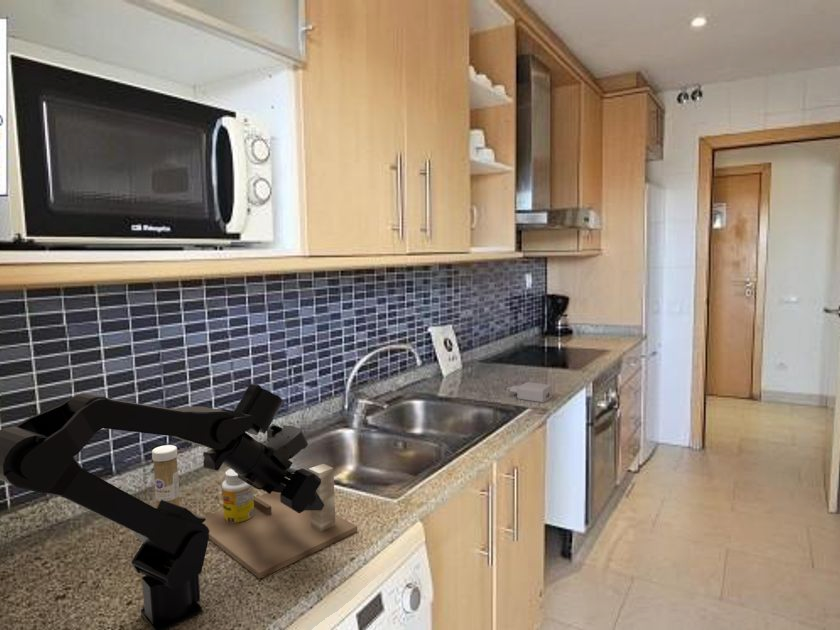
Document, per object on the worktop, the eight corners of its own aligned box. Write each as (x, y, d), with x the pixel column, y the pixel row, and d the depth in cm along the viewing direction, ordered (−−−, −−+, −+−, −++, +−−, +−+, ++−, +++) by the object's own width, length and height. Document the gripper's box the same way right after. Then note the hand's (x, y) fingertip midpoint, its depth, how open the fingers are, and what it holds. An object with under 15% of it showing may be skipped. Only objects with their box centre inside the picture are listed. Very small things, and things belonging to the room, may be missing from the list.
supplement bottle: (221, 519, 106) (217, 469, 104) (250, 511, 109) (246, 462, 107) (228, 531, 101) (224, 480, 100) (258, 523, 104) (255, 472, 103)
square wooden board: (259, 578, 86) (255, 507, 85) (192, 525, 104) (188, 465, 102) (357, 531, 100) (355, 469, 99) (283, 491, 118) (281, 438, 116)
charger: (512, 391, 199) (552, 397, 190) (502, 397, 191) (542, 403, 183) (512, 379, 198) (552, 384, 190) (502, 384, 191) (543, 390, 182)
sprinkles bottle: (152, 518, 107) (147, 452, 105) (163, 507, 111) (158, 444, 110) (175, 517, 107) (170, 452, 105) (185, 507, 111) (181, 443, 110)
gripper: (309, 427, 86) (364, 473, 95) (250, 405, 99) (303, 448, 108) (266, 491, 81) (329, 533, 90) (210, 459, 94) (270, 499, 103)
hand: (307, 499), depth 98 cm, fingers open, 9 cm apart
